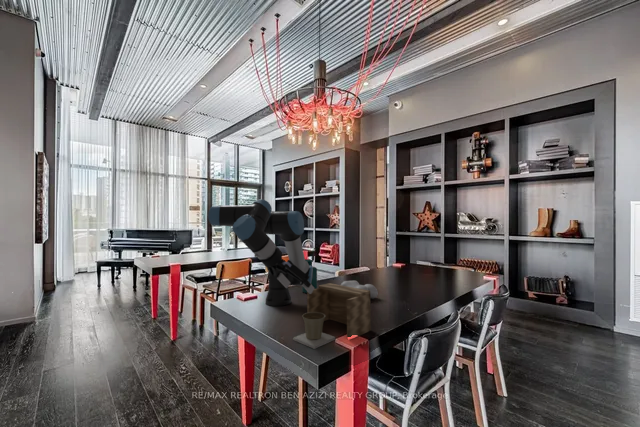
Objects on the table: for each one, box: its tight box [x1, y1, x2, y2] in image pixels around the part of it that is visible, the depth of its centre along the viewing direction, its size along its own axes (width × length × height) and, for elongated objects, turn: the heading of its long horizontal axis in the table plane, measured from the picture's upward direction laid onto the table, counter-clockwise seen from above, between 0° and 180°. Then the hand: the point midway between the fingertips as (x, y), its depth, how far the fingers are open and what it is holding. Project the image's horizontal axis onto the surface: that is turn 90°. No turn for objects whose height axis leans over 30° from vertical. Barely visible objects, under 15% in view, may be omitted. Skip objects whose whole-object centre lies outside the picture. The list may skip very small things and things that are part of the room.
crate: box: [306, 282, 372, 338], centre depth 128 cm, size 15×24×17 cm, turn 46°
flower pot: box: [301, 312, 325, 340], centre depth 115 cm, size 9×9×9 cm
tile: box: [292, 331, 336, 350], centre depth 115 cm, size 12×12×1 cm
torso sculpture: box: [340, 280, 379, 300], centre depth 186 cm, size 16×11×30 cm
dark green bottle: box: [301, 259, 318, 294], centre depth 198 cm, size 10×8×22 cm
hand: (299, 288), depth 110 cm, fingers open, 13 cm apart
